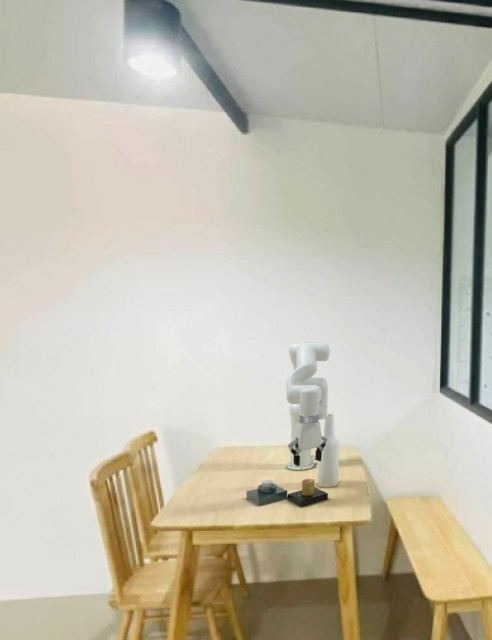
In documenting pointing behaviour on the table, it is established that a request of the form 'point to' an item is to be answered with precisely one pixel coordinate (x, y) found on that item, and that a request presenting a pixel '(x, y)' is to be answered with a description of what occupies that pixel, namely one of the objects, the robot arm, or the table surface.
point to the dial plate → (307, 497)
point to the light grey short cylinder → (267, 484)
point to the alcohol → (329, 456)
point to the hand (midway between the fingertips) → (307, 462)
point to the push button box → (266, 494)
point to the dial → (308, 487)
